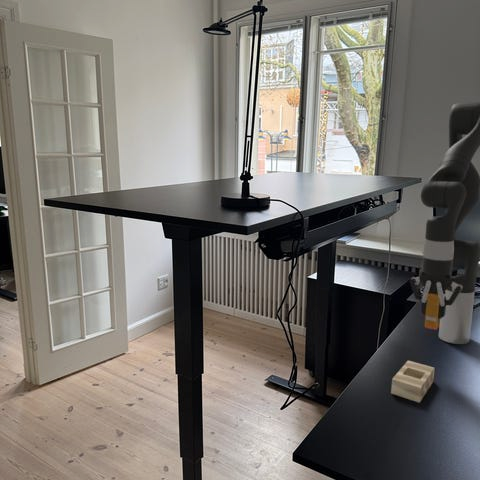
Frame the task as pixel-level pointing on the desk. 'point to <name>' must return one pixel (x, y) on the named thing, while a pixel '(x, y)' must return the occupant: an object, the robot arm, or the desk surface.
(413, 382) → the socket block
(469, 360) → the desk surface
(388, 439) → the desk surface
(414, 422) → the desk surface
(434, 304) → the supplement box
